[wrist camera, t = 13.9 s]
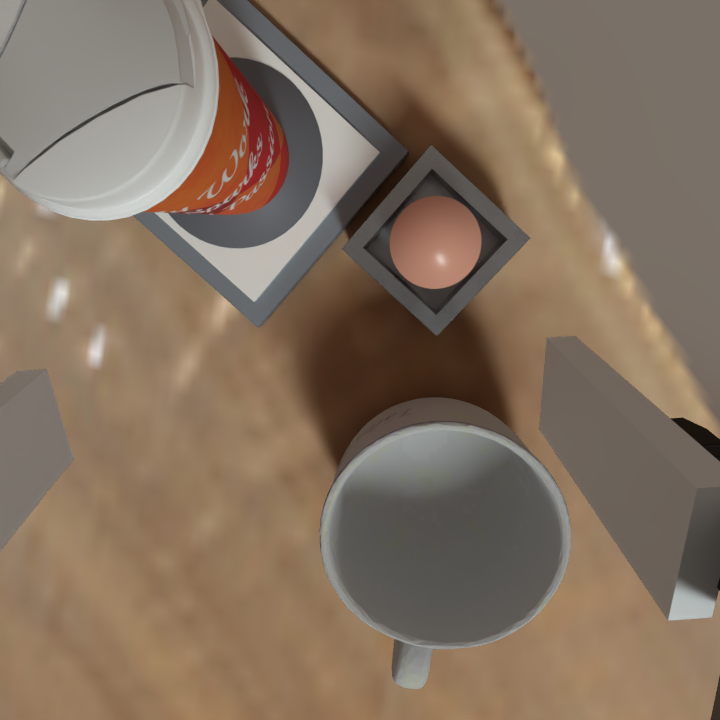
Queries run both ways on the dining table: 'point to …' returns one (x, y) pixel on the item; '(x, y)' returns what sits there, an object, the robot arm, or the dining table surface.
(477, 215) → the button housing
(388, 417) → the teacup
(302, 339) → the dining table surface
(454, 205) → the button
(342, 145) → the board
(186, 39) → the paper cup
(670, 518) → the robot arm
